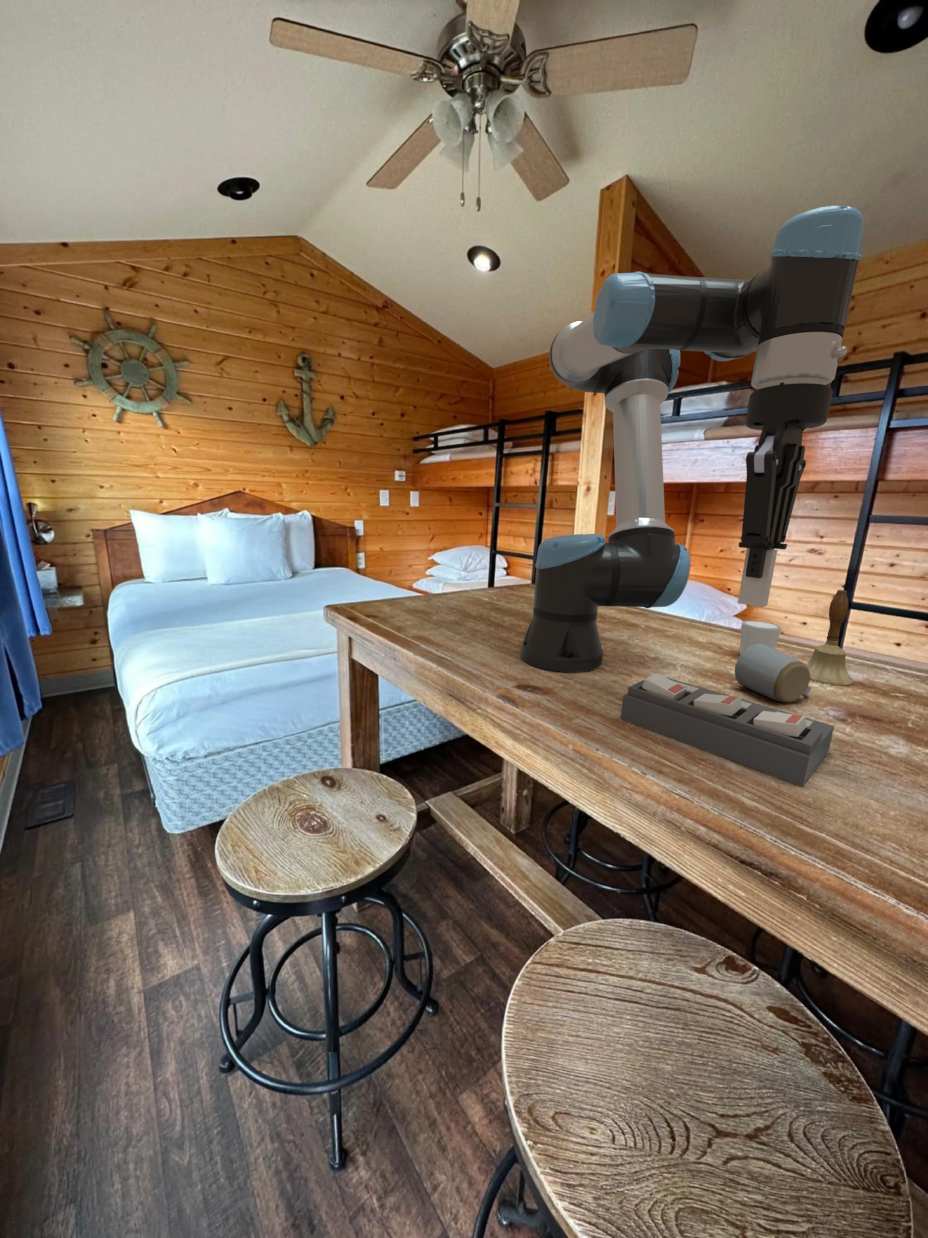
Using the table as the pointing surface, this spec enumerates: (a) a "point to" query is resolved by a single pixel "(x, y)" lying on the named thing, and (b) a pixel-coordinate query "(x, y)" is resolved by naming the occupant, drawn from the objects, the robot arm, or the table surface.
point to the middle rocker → (719, 704)
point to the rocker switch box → (730, 732)
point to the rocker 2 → (781, 723)
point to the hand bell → (832, 648)
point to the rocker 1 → (664, 687)
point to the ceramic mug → (772, 673)
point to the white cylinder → (758, 634)
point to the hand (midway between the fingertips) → (752, 604)
